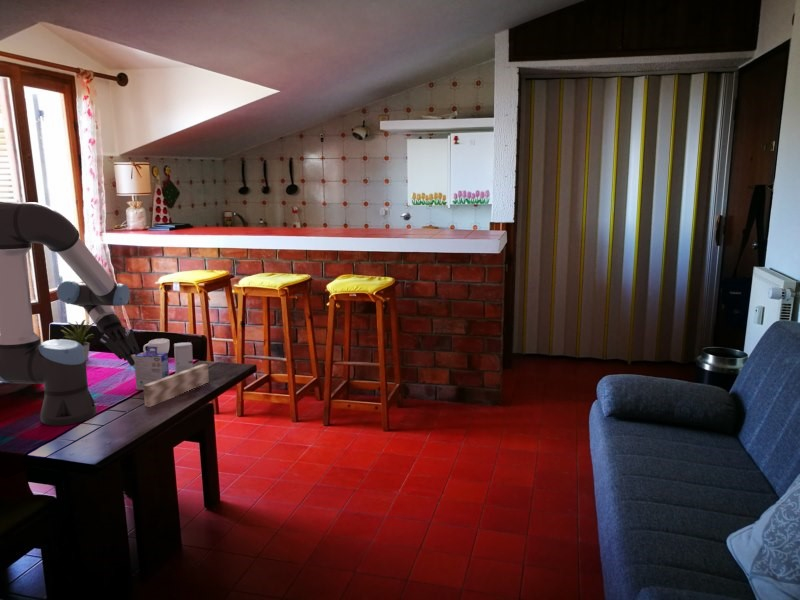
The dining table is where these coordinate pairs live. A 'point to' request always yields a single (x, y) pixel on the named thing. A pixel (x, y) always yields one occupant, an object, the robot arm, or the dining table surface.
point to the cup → (158, 345)
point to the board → (175, 384)
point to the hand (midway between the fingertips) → (141, 371)
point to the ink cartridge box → (150, 367)
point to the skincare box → (183, 356)
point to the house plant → (79, 336)
